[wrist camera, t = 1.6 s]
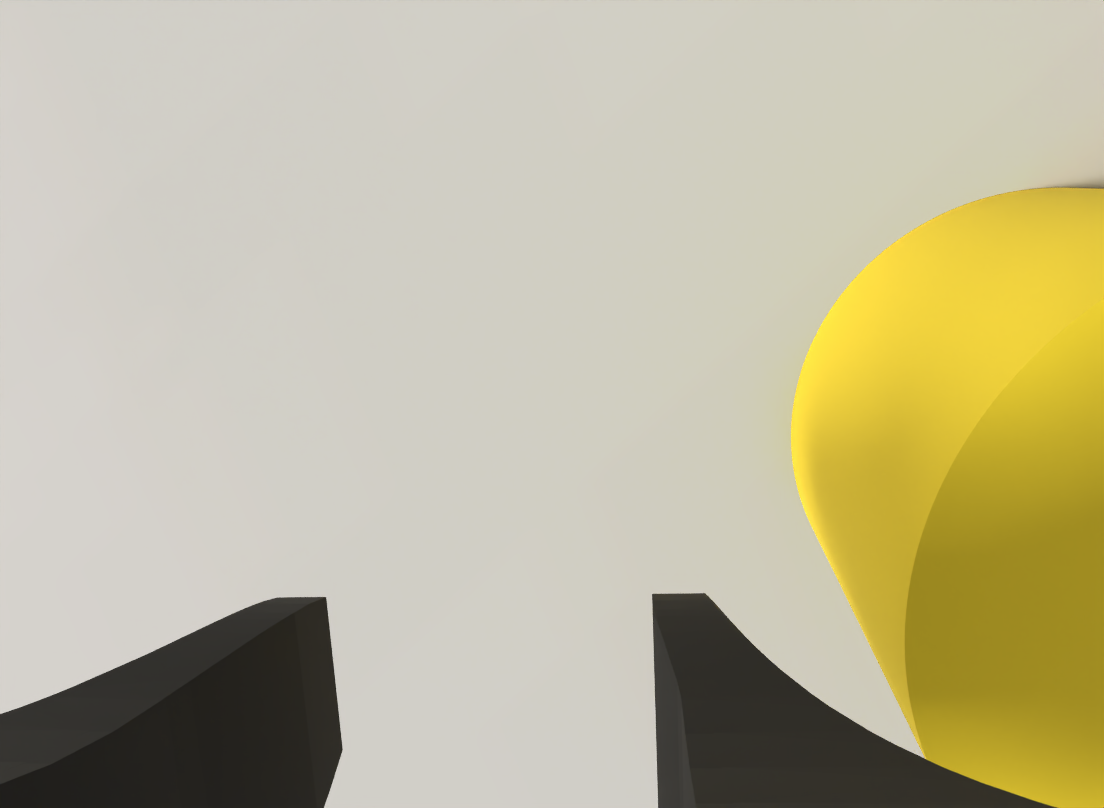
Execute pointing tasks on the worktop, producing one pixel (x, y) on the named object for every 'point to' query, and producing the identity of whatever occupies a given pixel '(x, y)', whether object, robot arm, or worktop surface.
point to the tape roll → (974, 483)
